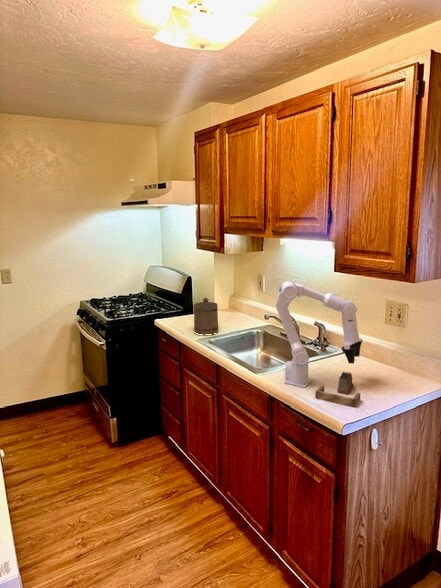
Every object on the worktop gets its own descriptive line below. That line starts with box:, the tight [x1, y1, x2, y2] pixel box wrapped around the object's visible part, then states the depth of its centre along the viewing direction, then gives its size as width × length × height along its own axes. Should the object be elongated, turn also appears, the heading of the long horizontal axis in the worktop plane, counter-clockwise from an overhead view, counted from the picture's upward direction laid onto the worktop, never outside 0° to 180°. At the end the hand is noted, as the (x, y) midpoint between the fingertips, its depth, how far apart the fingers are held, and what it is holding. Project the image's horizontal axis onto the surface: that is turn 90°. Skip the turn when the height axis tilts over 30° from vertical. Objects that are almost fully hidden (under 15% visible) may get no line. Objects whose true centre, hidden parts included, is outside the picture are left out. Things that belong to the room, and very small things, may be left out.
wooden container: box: [193, 297, 219, 334], centre depth 252 cm, size 15×15×22 cm
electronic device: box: [336, 371, 355, 396], centre depth 167 cm, size 4×10×8 cm, turn 148°
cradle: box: [314, 384, 361, 408], centre depth 159 cm, size 15×7×3 cm, turn 56°
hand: (354, 359), depth 172 cm, fingers open, 7 cm apart
